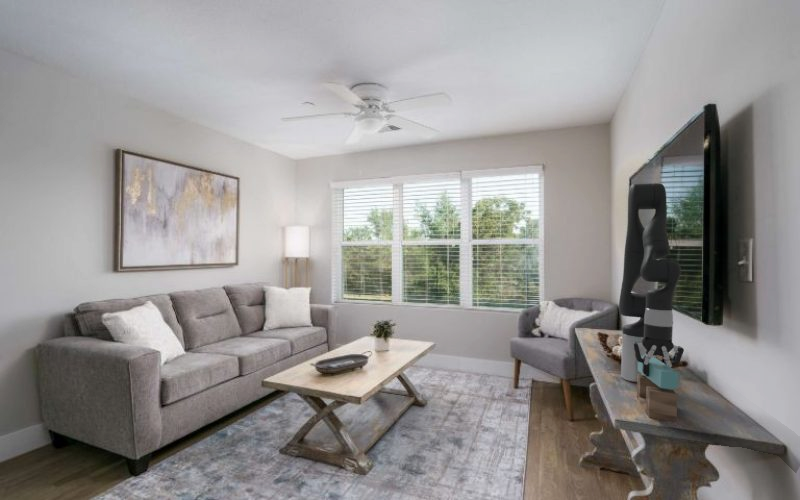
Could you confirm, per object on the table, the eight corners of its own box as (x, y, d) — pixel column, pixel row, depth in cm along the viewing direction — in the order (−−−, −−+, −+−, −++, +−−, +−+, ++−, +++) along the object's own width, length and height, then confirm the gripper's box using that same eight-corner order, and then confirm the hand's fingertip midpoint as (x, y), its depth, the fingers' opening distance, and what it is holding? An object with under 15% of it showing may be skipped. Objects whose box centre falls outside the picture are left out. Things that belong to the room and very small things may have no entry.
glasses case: (637, 370, 133) (638, 355, 133) (652, 371, 132) (653, 356, 132) (660, 388, 116) (661, 371, 116) (677, 389, 115) (678, 372, 115)
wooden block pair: (636, 397, 133) (637, 373, 133) (660, 400, 131) (661, 376, 131) (648, 417, 117) (649, 390, 117) (676, 421, 115) (677, 394, 115)
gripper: (681, 323, 125) (679, 376, 125) (629, 319, 130) (628, 370, 130) (689, 327, 118) (687, 384, 118) (634, 323, 123) (632, 377, 123)
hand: (656, 376), depth 124 cm, fingers closed on glasses case, 4 cm apart
